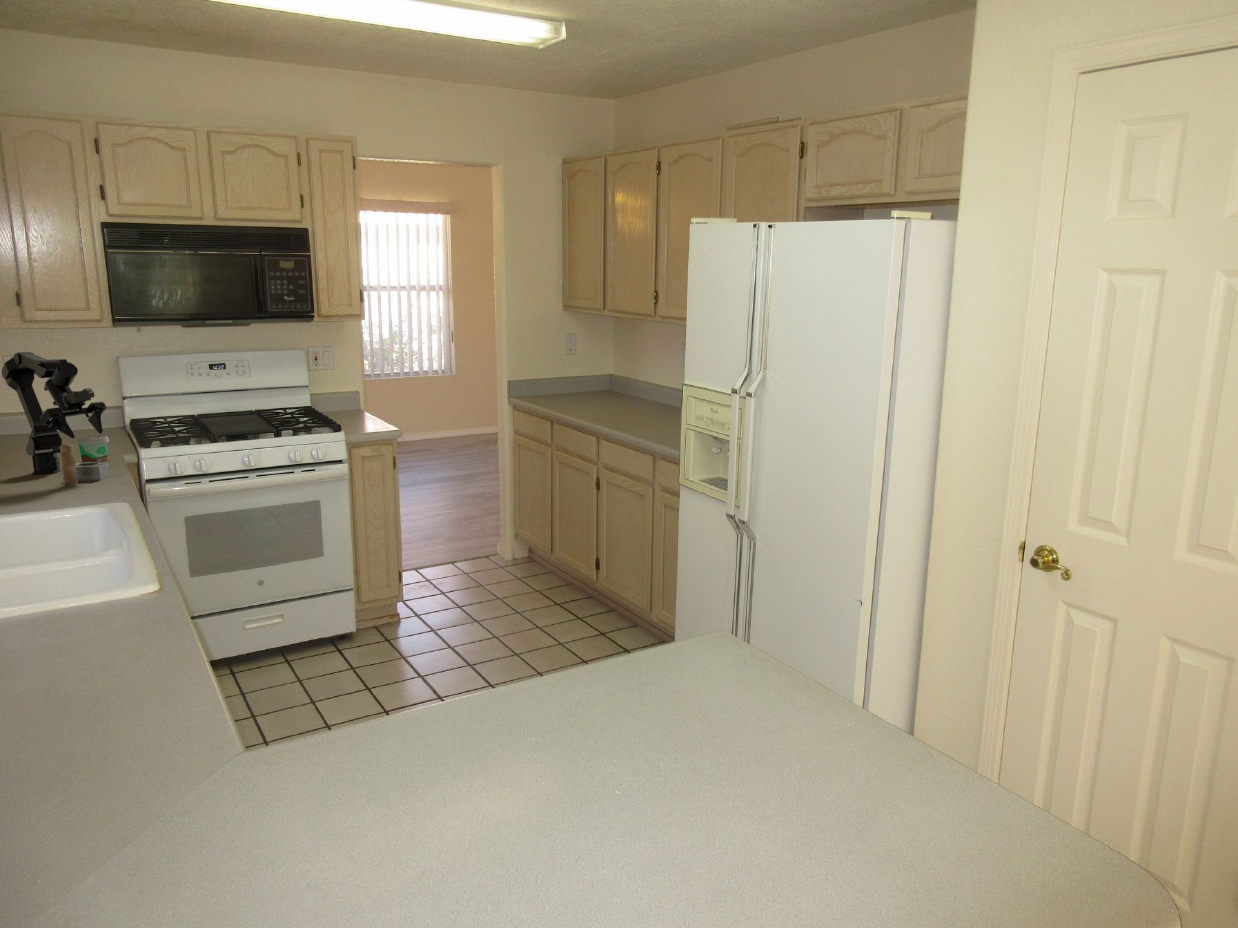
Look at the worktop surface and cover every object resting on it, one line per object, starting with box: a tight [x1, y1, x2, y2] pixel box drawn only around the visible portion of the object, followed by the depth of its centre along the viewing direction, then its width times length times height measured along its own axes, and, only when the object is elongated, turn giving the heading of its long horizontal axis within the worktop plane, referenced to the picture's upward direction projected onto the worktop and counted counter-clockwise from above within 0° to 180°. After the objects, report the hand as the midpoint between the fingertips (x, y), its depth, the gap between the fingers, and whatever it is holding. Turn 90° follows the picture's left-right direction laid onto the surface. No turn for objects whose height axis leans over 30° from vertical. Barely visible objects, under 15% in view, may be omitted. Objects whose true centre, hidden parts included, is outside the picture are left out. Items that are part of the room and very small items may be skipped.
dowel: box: [60, 444, 79, 488], centre depth 267 cm, size 4×4×12 cm
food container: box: [77, 433, 110, 462], centre depth 301 cm, size 12×6×10 cm, turn 179°
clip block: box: [75, 461, 111, 482], centre depth 279 cm, size 9×9×4 cm
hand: (87, 435), depth 274 cm, fingers open, 9 cm apart
